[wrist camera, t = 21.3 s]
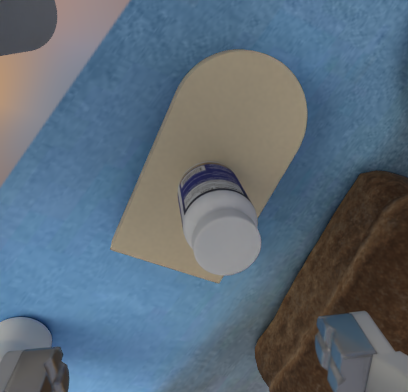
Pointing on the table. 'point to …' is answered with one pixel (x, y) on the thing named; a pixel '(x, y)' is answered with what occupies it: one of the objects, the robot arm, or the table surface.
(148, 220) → the beige rounded board
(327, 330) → the robot arm
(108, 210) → the table surface
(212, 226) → the pill bottle
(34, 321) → the water bottle
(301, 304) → the bread
